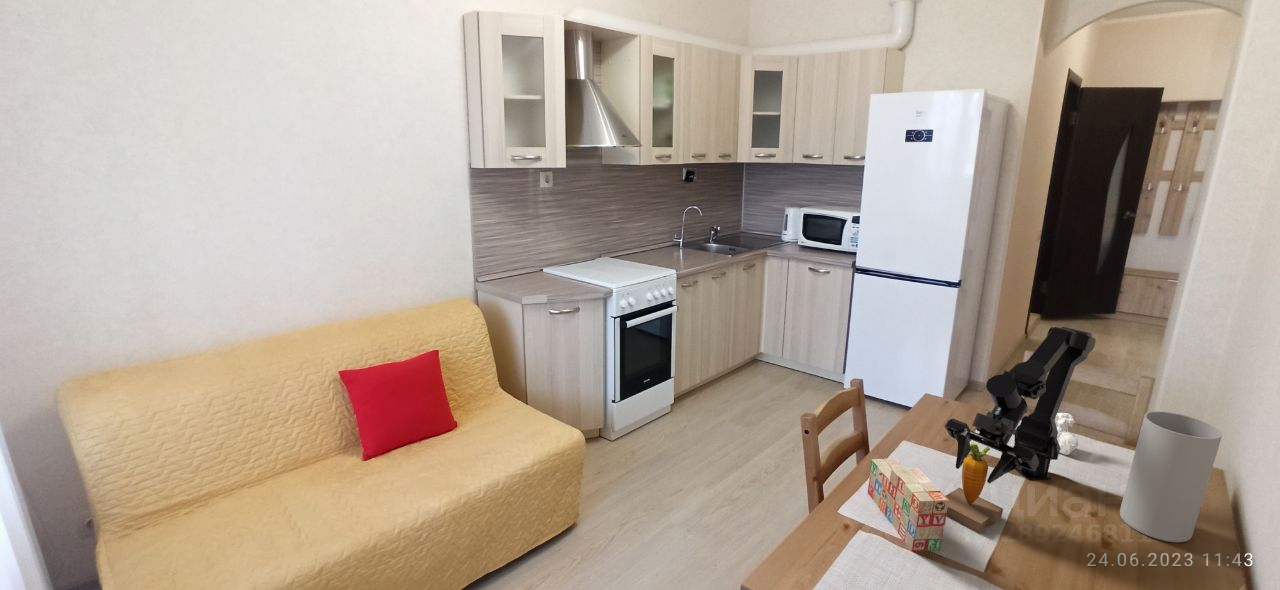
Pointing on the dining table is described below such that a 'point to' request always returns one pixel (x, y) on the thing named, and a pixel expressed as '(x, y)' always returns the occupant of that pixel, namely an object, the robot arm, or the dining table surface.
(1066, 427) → the bust
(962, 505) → the walnut plinth
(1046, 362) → the robot arm
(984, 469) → the carrot
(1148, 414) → the cylinder vase
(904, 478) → the stack of blocks
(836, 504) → the dining table surface
